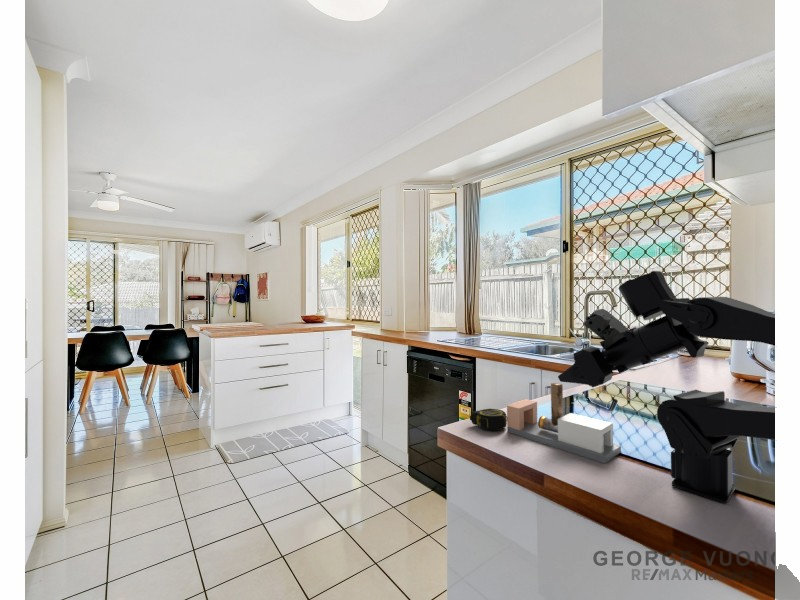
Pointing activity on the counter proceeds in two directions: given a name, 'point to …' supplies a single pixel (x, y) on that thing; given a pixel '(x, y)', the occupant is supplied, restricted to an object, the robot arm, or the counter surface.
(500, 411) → the tape measure
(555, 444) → the tube rig
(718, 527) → the counter surface
